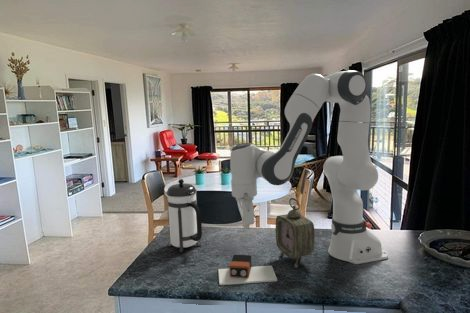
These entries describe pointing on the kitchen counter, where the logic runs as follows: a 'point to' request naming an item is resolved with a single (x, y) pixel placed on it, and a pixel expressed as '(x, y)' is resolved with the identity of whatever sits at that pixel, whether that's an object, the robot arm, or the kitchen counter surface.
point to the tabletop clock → (294, 234)
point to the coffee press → (183, 216)
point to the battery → (240, 266)
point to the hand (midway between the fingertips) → (246, 227)
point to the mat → (255, 276)
